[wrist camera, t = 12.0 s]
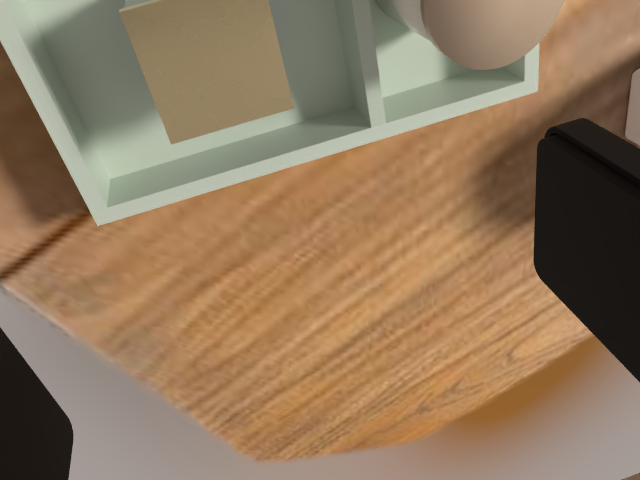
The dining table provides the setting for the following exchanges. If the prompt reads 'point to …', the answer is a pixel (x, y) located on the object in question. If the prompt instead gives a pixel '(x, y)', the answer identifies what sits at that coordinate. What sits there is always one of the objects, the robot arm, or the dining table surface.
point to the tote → (244, 139)
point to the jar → (634, 110)
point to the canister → (477, 27)
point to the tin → (208, 62)
